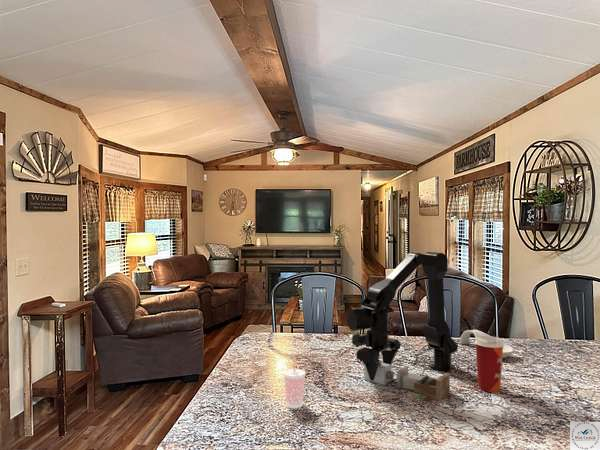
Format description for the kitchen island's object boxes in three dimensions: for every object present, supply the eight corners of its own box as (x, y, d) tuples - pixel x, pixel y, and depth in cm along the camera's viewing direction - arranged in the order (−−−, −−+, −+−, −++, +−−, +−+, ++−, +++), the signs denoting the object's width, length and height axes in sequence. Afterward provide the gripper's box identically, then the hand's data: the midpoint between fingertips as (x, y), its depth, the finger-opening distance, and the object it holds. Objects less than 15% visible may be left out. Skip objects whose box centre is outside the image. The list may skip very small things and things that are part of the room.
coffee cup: (507, 394, 130) (507, 343, 130) (477, 392, 132) (477, 341, 131) (500, 384, 138) (500, 335, 138) (472, 382, 140) (472, 334, 140)
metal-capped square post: (405, 382, 140) (405, 366, 140) (434, 389, 134) (434, 373, 134) (394, 389, 134) (394, 373, 134) (424, 397, 128) (424, 380, 128)
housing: (421, 385, 137) (421, 367, 137) (449, 392, 132) (449, 373, 132) (407, 396, 129) (407, 377, 129) (436, 403, 124) (436, 383, 124)
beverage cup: (284, 400, 127) (283, 350, 126) (305, 400, 126) (305, 350, 126) (282, 409, 121) (282, 357, 120) (305, 409, 120) (305, 357, 120)
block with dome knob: (371, 375, 147) (371, 358, 146) (395, 381, 141) (395, 364, 141) (364, 380, 143) (364, 362, 143) (388, 386, 137) (388, 368, 137)
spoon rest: (520, 359, 163) (520, 340, 163) (495, 363, 159) (495, 343, 159) (474, 342, 185) (474, 325, 185) (451, 345, 181) (451, 327, 181)
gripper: (371, 318, 154) (371, 363, 154) (341, 329, 139) (341, 378, 140) (401, 322, 147) (401, 370, 147) (373, 334, 133) (373, 387, 133)
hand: (379, 376), depth 142 cm, fingers open, 9 cm apart
